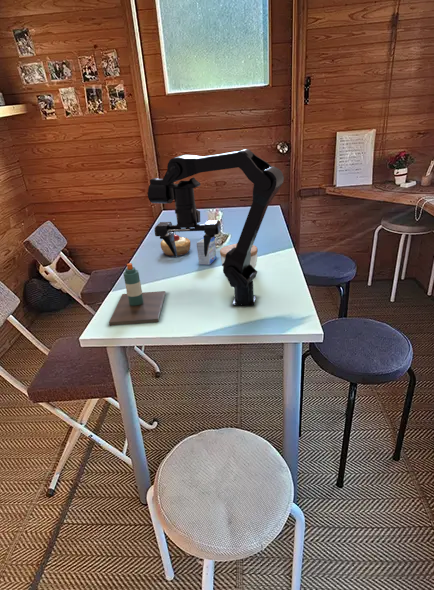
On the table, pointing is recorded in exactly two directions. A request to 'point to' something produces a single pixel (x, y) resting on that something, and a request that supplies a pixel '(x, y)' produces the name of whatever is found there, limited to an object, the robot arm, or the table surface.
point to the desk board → (139, 309)
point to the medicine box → (210, 255)
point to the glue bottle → (133, 285)
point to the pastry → (177, 246)
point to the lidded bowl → (229, 247)
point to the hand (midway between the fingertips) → (190, 256)
